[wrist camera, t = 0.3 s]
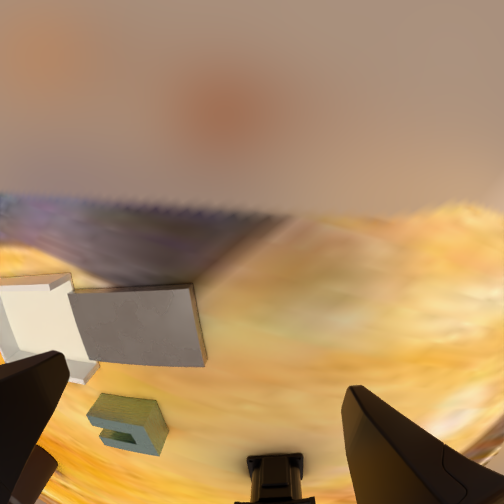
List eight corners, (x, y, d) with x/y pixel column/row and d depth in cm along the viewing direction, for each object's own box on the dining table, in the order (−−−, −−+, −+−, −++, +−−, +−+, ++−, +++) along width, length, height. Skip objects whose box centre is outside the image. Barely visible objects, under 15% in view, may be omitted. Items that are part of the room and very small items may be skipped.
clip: (168, 430, 26) (159, 456, 22) (117, 423, 26) (104, 444, 22) (156, 400, 25) (143, 426, 21) (101, 393, 25) (86, 415, 21)
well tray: (99, 366, 24) (85, 384, 21) (20, 352, 25) (6, 364, 22) (70, 272, 22) (48, 284, 19) (-5, 278, 23) (-23, 286, 20)
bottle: (46, 462, 33) (9, 518, 14) (27, 440, 32) (-15, 497, 12) (64, 468, 32) (27, 531, 13) (44, 446, 31) (0, 510, 12)
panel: (207, 359, 23) (204, 366, 22) (94, 354, 24) (89, 360, 23) (192, 283, 21) (188, 288, 20) (74, 289, 22) (67, 293, 21)
